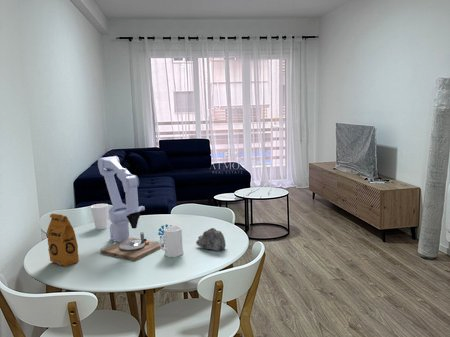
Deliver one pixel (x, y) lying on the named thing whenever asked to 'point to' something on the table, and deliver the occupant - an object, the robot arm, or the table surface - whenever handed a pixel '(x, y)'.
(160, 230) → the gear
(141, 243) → the flange
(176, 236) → the mug
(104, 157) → the robot arm
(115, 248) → the base board
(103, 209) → the foam cup
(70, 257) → the coffee package
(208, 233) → the mineral rock
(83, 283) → the table surface
